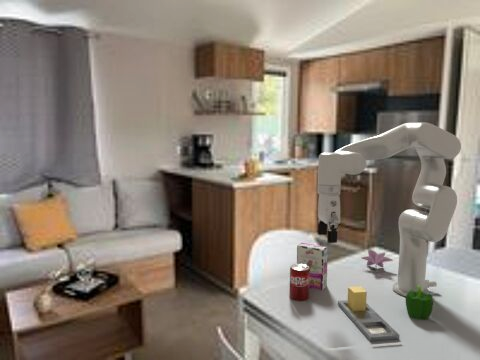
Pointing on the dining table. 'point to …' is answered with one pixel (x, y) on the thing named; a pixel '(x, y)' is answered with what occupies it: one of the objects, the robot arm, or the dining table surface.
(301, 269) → the soda can
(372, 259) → the lily
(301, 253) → the candy bar box
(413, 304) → the bell pepper
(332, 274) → the dining table surface
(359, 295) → the yellow block
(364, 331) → the gray recessed board
